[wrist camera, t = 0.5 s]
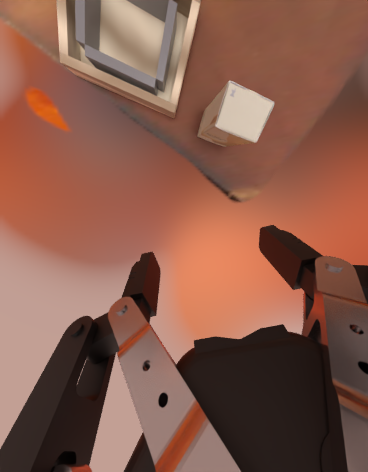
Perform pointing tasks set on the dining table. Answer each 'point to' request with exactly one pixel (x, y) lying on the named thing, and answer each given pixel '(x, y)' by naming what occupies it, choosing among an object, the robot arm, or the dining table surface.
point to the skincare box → (235, 116)
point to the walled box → (131, 48)
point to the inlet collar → (88, 36)
